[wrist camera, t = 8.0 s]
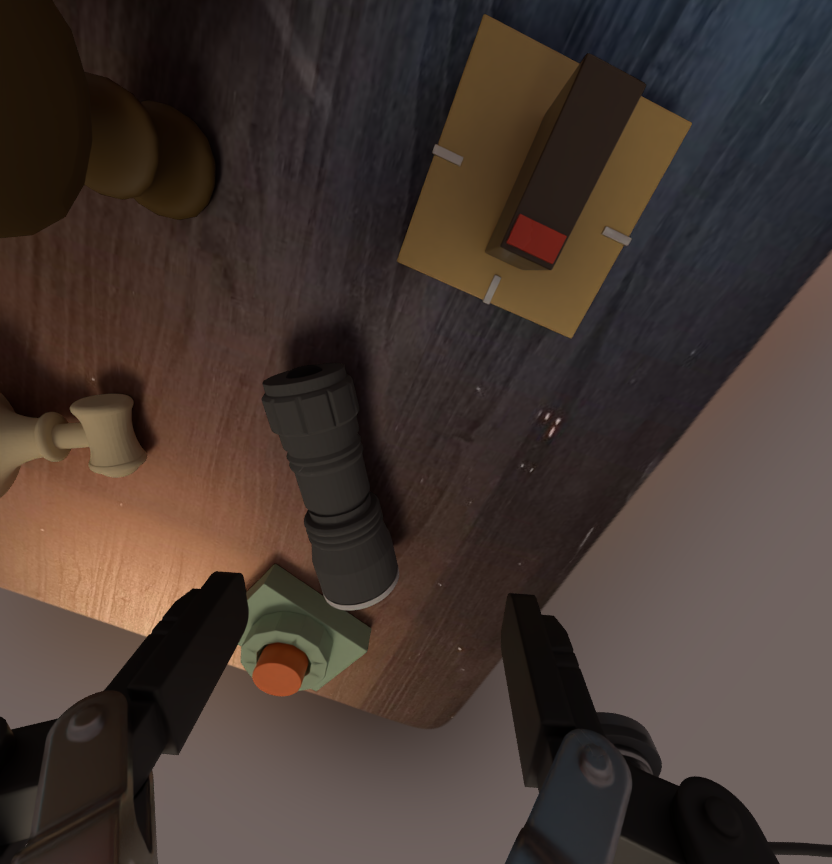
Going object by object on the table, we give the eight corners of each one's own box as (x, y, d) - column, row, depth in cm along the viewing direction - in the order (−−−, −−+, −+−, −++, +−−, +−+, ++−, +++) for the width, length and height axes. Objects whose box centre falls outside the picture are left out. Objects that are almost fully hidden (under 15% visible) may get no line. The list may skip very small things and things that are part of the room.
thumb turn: (545, 112, 17) (590, 46, 12) (590, 134, 17) (652, 79, 12) (483, 252, 19) (500, 246, 14) (523, 270, 19) (553, 271, 14)
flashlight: (274, 364, 24) (232, 388, 19) (357, 350, 24) (336, 371, 19) (333, 557, 30) (313, 614, 25) (402, 550, 29) (395, 607, 24)
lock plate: (665, 139, 19) (699, 119, 17) (558, 334, 23) (573, 342, 20) (477, 41, 18) (483, 5, 16) (398, 263, 22) (393, 262, 19)
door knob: (92, 390, 20) (130, 517, 23) (146, 358, 27) (170, 458, 31) (-157, 399, 18) (-78, 540, 21) (-28, 361, 25) (17, 471, 28)
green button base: (371, 628, 33) (363, 673, 29) (322, 667, 35) (309, 714, 31) (275, 562, 31) (253, 602, 27) (229, 609, 33) (203, 652, 29)
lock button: (318, 658, 29) (311, 680, 28) (291, 680, 31) (283, 703, 29) (279, 634, 29) (269, 655, 27) (253, 657, 30) (242, 679, 28)
